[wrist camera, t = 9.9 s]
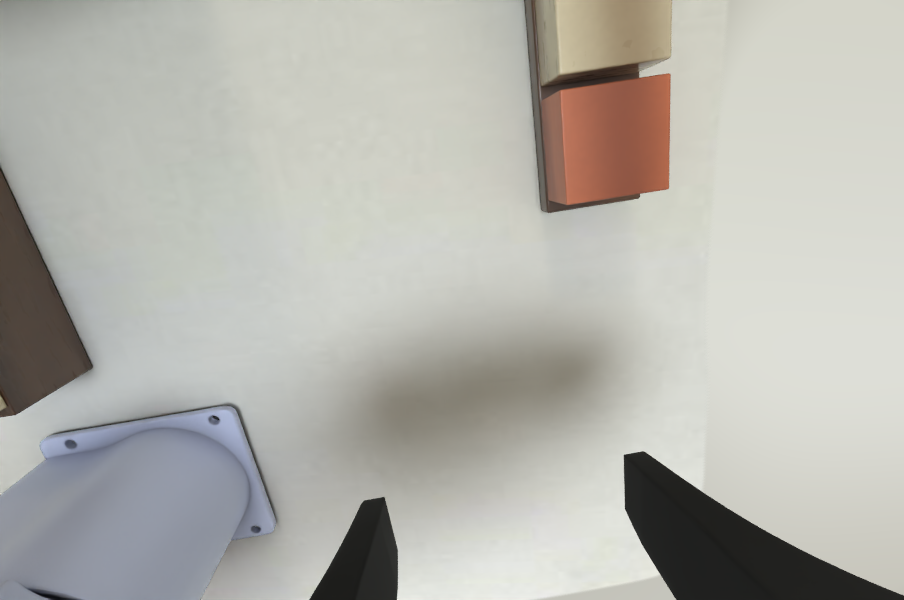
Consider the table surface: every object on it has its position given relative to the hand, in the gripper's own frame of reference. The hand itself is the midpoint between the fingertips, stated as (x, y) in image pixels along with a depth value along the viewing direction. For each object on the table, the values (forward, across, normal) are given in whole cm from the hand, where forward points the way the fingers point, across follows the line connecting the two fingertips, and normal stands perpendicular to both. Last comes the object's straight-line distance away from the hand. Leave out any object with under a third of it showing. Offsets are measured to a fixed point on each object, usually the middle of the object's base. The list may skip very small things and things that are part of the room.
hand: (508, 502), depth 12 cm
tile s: (+8, -6, -10) cm, 14 cm away
